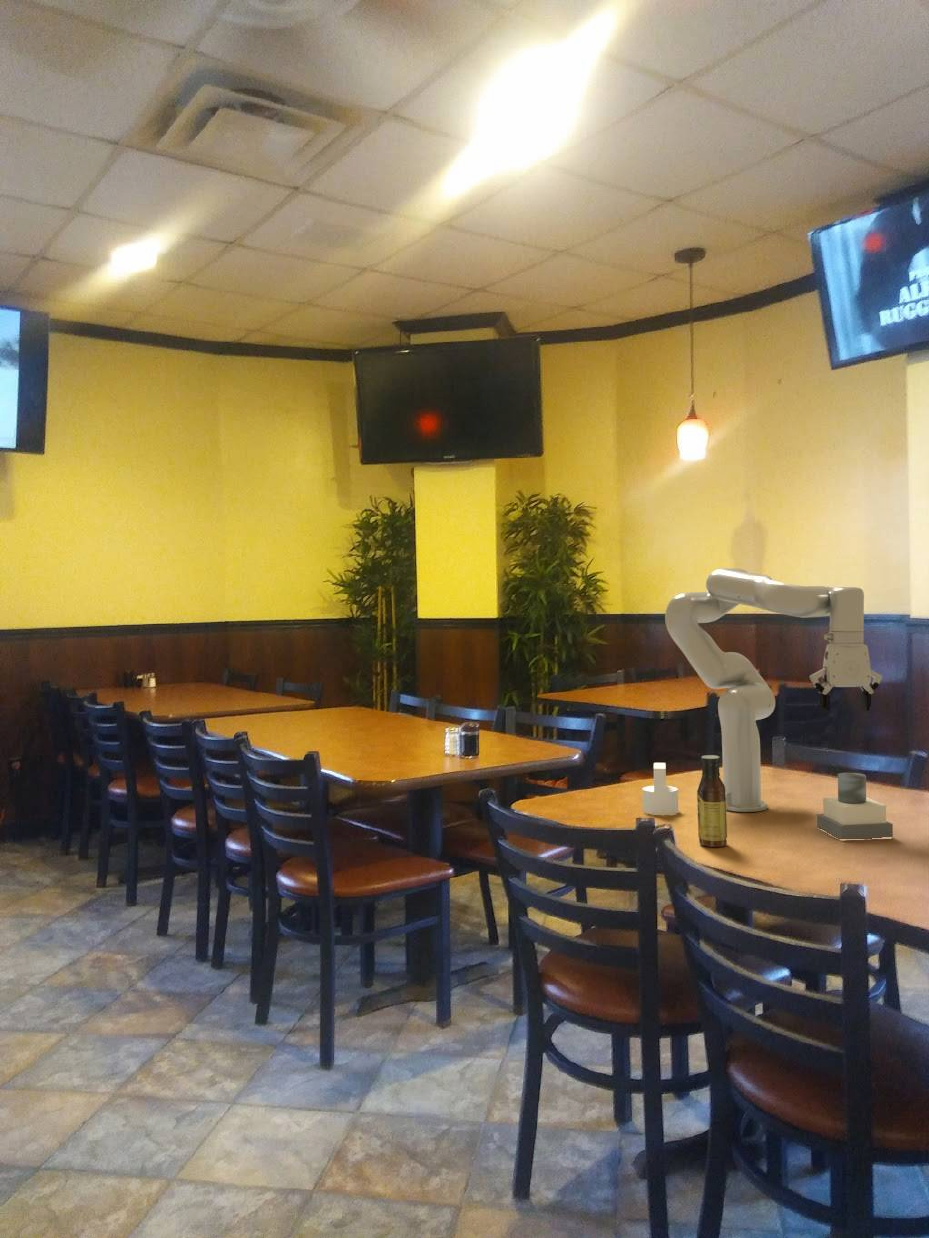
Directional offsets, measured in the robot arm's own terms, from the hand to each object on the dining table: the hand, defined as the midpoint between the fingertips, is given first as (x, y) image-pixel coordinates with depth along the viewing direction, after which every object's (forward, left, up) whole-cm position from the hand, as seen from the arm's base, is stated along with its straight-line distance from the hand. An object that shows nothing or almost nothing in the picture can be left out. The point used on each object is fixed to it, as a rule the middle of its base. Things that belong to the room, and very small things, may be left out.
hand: (845, 710), depth 229 cm
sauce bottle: (-38, -14, -28) cm, 49 cm away
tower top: (-3, -9, -24) cm, 26 cm away
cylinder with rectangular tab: (-40, +21, -28) cm, 53 cm away
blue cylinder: (-3, -9, -20) cm, 22 cm away
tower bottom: (-3, -9, -28) cm, 30 cm away
